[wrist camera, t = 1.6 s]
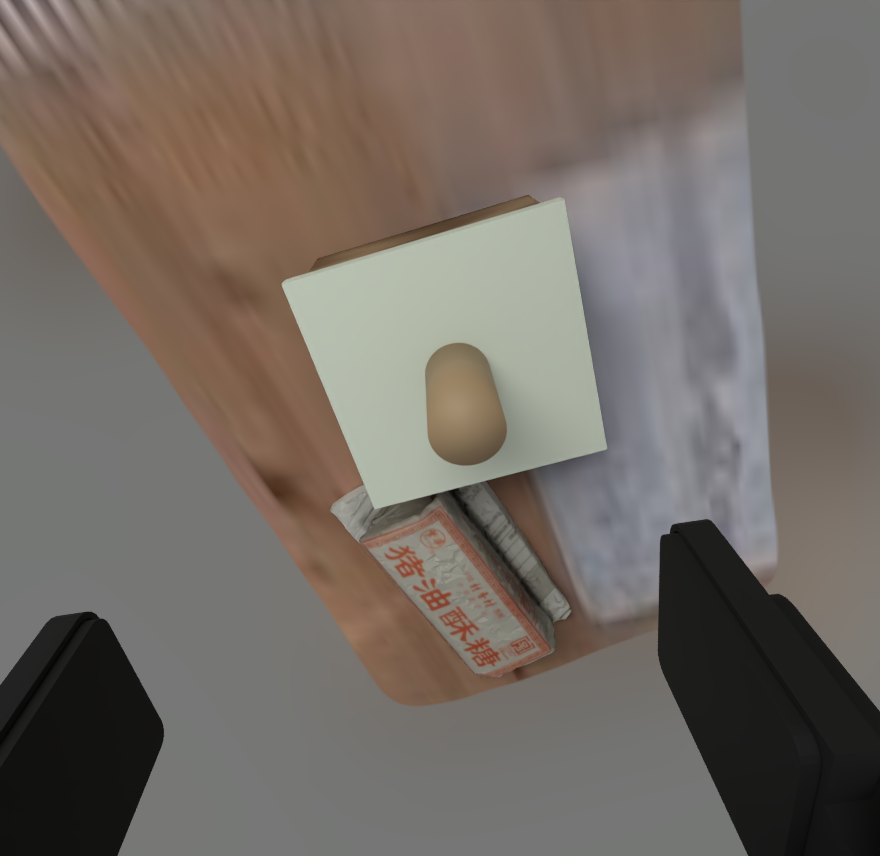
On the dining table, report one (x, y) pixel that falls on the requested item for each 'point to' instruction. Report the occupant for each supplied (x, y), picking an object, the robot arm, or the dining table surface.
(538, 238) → the lid
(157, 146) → the dining table surface
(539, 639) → the packaged product
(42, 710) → the robot arm
